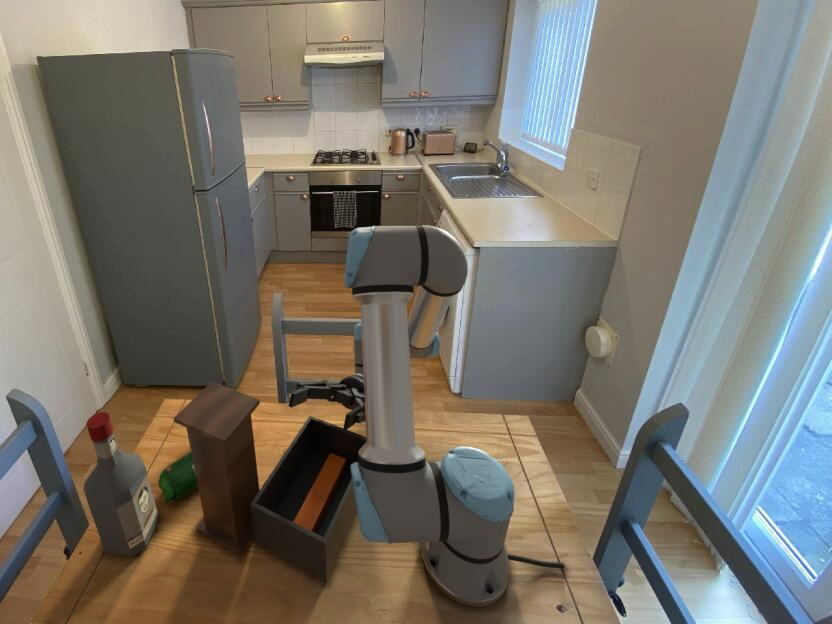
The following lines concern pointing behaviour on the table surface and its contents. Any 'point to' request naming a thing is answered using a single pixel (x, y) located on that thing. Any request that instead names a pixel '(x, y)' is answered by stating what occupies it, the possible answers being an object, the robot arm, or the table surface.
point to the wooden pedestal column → (223, 463)
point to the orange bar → (321, 493)
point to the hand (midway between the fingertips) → (318, 410)
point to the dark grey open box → (291, 489)
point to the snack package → (178, 478)
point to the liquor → (119, 493)
